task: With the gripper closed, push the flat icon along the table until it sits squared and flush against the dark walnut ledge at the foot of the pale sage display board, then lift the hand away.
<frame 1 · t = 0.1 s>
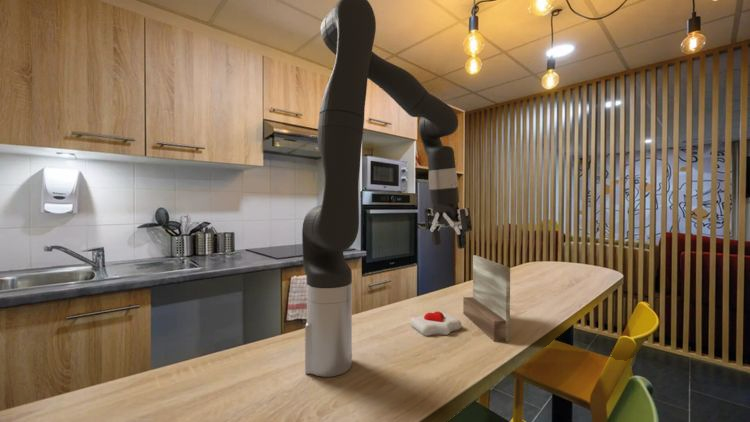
hand: (449, 246, 84), 22 cm above the table, tool pointing down, fingers open, 8 cm apart
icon: (437, 330, 84), on the table
display ledge: (482, 325, 86), on the table
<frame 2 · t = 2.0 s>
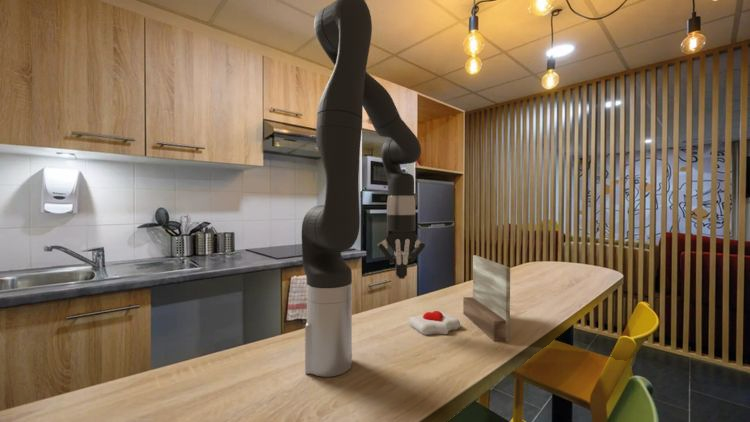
hand: (401, 278, 83), 14 cm above the table, tool pointing down, fingers closed
nothing on the table moved.
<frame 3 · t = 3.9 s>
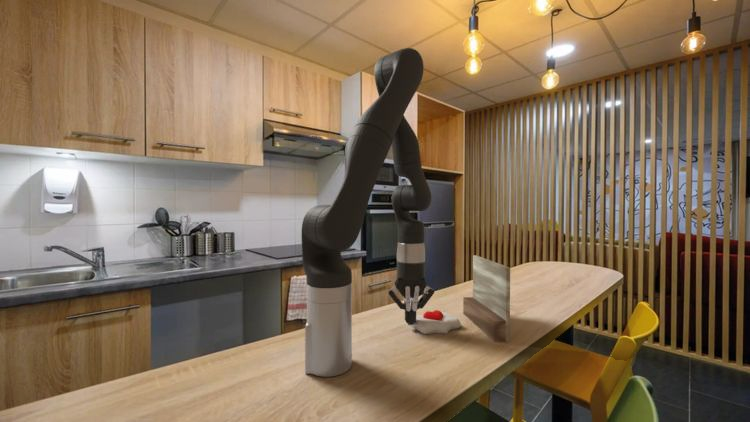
hand: (410, 323, 84), 2 cm above the table, tool pointing down, fingers closed
nothing on the table moved.
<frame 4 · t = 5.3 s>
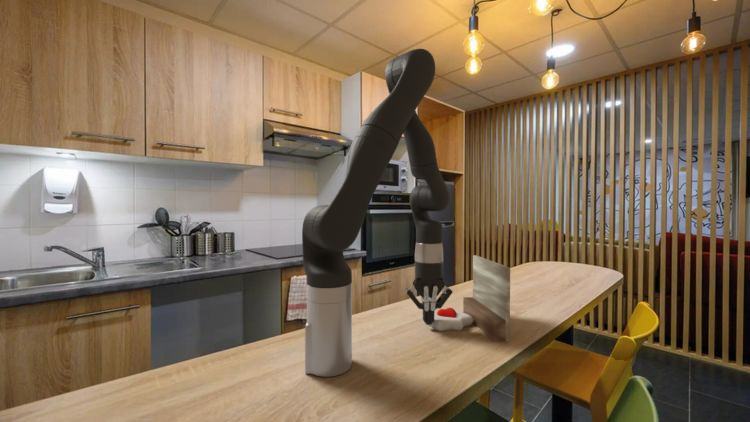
hand: (428, 323, 84), 1 cm above the table, tool pointing down, fingers closed
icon: (449, 326, 87), on the table
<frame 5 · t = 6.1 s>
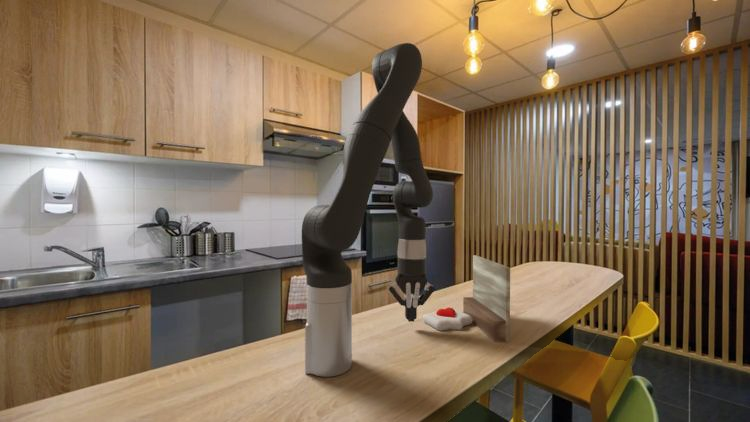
hand: (410, 320, 83), 3 cm above the table, tool pointing down, fingers closed
nothing on the table moved.
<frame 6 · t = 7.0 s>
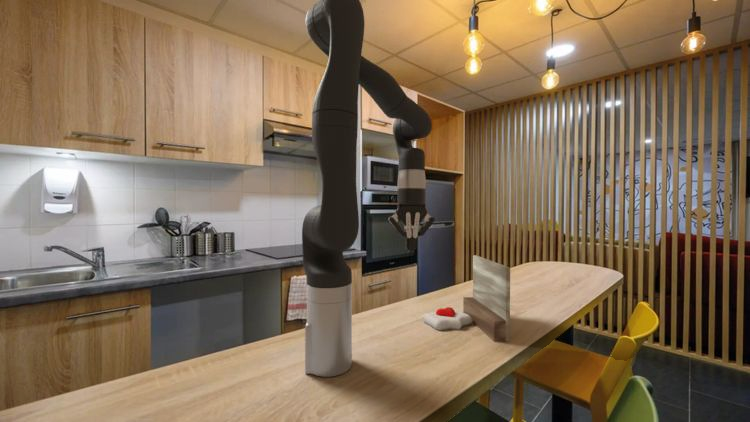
hand: (411, 251, 84), 21 cm above the table, tool pointing down, fingers closed
nothing on the table moved.
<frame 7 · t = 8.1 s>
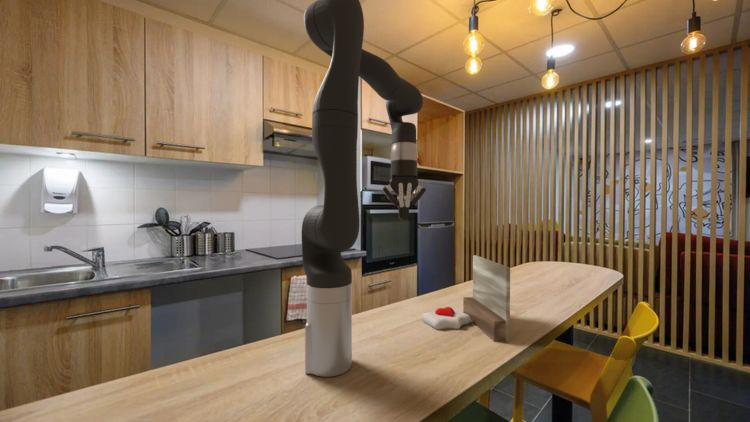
hand: (403, 220, 90), 29 cm above the table, tool pointing down, fingers closed
nothing on the table moved.
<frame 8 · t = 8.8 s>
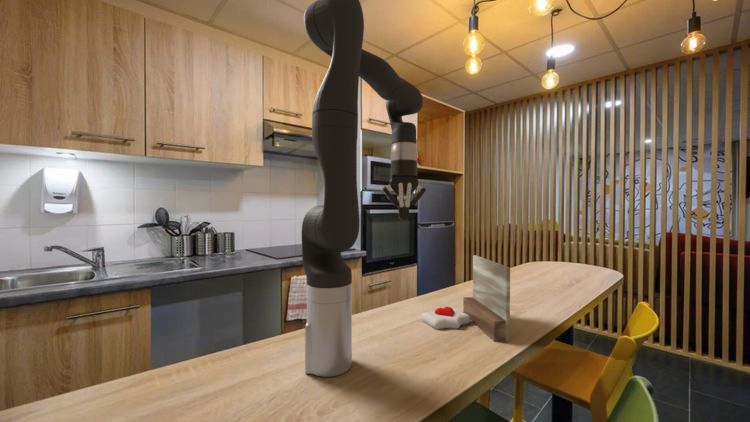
hand: (403, 220, 90), 29 cm above the table, tool pointing down, fingers closed
at the end: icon inside the target area (3.0 cm from its centre), on the table; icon tilted 0°; the gripper is holding nothing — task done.
